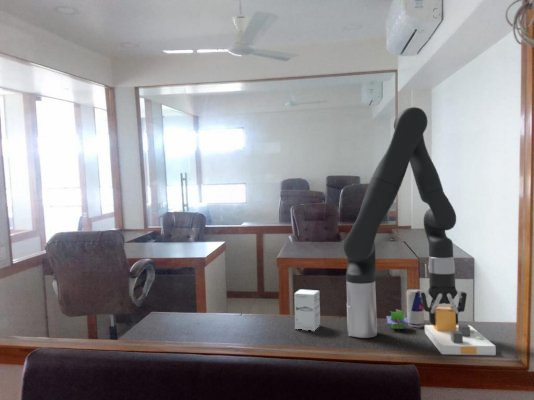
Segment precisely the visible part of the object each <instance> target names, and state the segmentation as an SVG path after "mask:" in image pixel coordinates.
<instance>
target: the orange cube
mask: <svg viewBox="0 0 534 400" xmlns="http://www.w3.org/2000/svg"><path fill="white" fill-rule="evenodd" d="M434 313H435V325H432V324H431V325H432V326H433V327H434V328H435V329H436V330H437V331H456V325H457V324H456V313H455V311H454V310H453V309H451V307H450V306H438V307H437V308H436V310H435V312H434Z"/></svg>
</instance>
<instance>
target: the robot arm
mask: <svg viewBox="0 0 534 400" xmlns="http://www.w3.org/2000/svg"><path fill="white" fill-rule="evenodd" d="M427 127H428V117H427V114H426V112H425V111H424V110H423V109H422V108H419V107H415V106H413V107H408V108H405V109H404V110H402V111H401V112H399V113H398V114H397V116H395V119H394V121H393V129H394V131H393V134H392V136H391V140H390V143H389V145H388V148H387V150H386V151H385V153H384V155H383V156H382V158H381V160H380V161H379V162H378V165H377V166H376V168H375V170H374V172H373V174H372V175H371V178H370V180H369V183H368V186H367V188H366V191H365V194H364V196H363V200H362V203H361V206H360V209H359V212H358V215H357V216H356V217H357V218H356V220H355V222H353V223H354V224H353V226H352V227H351V230H350V231H349V232H348V234H347V236H346V237H345V239H344V242H343V252H344V254H345V257H346V258H347V265H346V266H347V267H346V273H345V278H346V279H345V281H346V284H345V285H346V321H347V322H346V323H347V334H348V337H353V338H354V337H355V338H360V339H368V338H369V339H370V338H374V337H376V336H377V335H378V326H377V325H378V324H377V323H378V321H377V295H376V293H377V292H376V269H377V267H376V245H375V244H376V243H375V239H376V236H377V234H378V230H379V228H380V226H381V223H382V221H383V220H384V218H385V217H386V215H387V214H388V213H389V211H390V209H391V208H392V206H393V204H394V202H395V200H396V197H397V195H398V193H399V191H400V188H401V186H402V184H403V181H404V178H405V175H406V173H407V169H408V167H409V164H410V167H411V171H412V175H413V177H414V181H415V184H416V188H417V190H418V194H419V197H420V200H421V201H422V202H423V203H425V204H426V205H428V206H429V209H427V210H426V211H425V213H424V214H423V215H424V216H423V228H424V231H425V235H426V240H427V242H428V254H429V255H428V280H429V282H428V283H429V284H428V285H429V288H428V290H426V291H423V290H422V291H420V292H419V294H420V298H421V303H422V307H423V309H424V311H425V312H426V313H427V312H428V315H429V316H428V320H429V323H431V325H435V313H434V312H435V310H436V308H437V307H439V305H442V304H446V305H448V306H449V307H450V308H451V309H453V310H454V311H455V313H456V325H459V313H461V312H462V313H463V312H464V311H465V310H466V309H465V308H466V302H467V295H468V293H466V292H465V291H463V290H461V291H460V290H457V287H456V266H455V260H454V259H455V258H454V245H453V241H452V239H451V238H449V237H448V236H447V234H446V231H449V230H450V231H451V230H452V229H453V228H454V227H455V225H456V223H457V215H456V212H455V209H454V207H453V205H452V203H451V202H450V200H449V198H448V197H447V195H446V194H445V192H444V188H443V185H442V182H441V179H440V175H439V173H438V171H437V169H436V166H435V164H434V163H433V161H432V159H431V156H430V154H429V152H428V149H427V146H426V142H425V138H424V137H425V136H424V133H425V132H426V129H427ZM428 296H430V297H431V302H430V305H429V306H428V301H427V299H428V298H429V297H428ZM456 296H457V297H458V303H457V304H458V305H457V304H456V303H455V301H454V299H455V298H456Z"/></svg>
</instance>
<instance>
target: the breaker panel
mask: <svg viewBox="0 0 534 400" xmlns="http://www.w3.org/2000/svg"><path fill="white" fill-rule="evenodd" d="M459 325H460V324H456V331H459ZM467 325H468V326H469V327H470V336H463V343H453V342H452V341H451V331H437V330H436V329H435V328H434V327H433V326H432V324H424V333H425V335H426V336H427V337H428V339H429V340H430V341H431V343H432V344H433V345H434V346H435V347H436V350H438V351H439V352H440V354H441V355H460V356H462V355H464V356H497V354H496V353H497V350H496V348H497V347H496V345H495V344H494V343H492V342H491V341H490V340H488V339H487V338H486V337H485V336H484V335H483V334H481V333H480V332H479V331H478V330H476V329H475V328H474V327H473V326H471V325H469V324H467Z"/></svg>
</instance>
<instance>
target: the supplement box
mask: <svg viewBox="0 0 534 400" xmlns="http://www.w3.org/2000/svg"><path fill="white" fill-rule="evenodd" d="M293 294H294V297H293V299H294V300H293V301H294V330H295V329H297V330H298V329H302V330H301V331H308V330H311V332H316V331H317V330H318V329H319V328H320V326H321V305H320V304H321V303H320V302H321V301H320V300H321V299H320V290H315V289H314V290H313V289H303V288H302V289H298V290H297V291H296V292H294V293H293ZM319 325H320V326H319ZM318 327H319V328H318ZM317 328H318V329H317ZM316 329H317V330H316ZM315 330H316V331H315Z"/></svg>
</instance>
